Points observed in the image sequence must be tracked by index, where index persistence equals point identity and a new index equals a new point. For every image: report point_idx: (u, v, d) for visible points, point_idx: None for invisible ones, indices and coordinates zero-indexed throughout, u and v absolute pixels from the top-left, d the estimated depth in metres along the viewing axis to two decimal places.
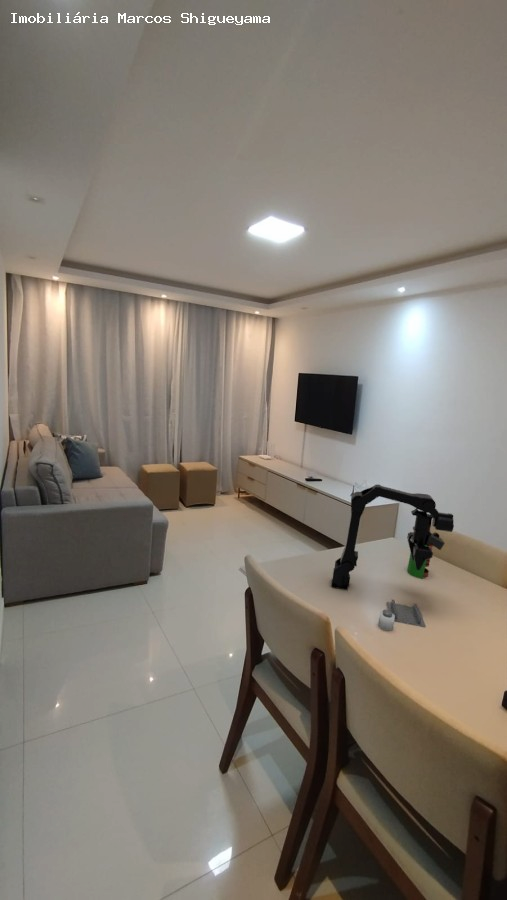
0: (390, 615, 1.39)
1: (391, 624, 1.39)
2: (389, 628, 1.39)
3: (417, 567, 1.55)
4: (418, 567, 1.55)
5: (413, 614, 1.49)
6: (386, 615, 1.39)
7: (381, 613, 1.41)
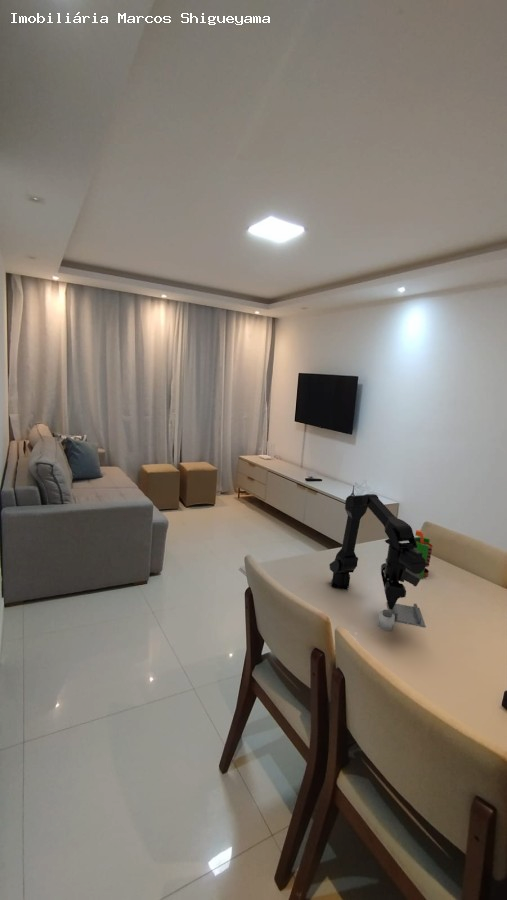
0: (390, 615, 1.39)
1: (391, 624, 1.39)
2: (389, 628, 1.39)
3: (389, 606, 1.35)
4: (391, 606, 1.35)
5: (413, 614, 1.49)
6: (386, 615, 1.39)
7: (381, 613, 1.41)
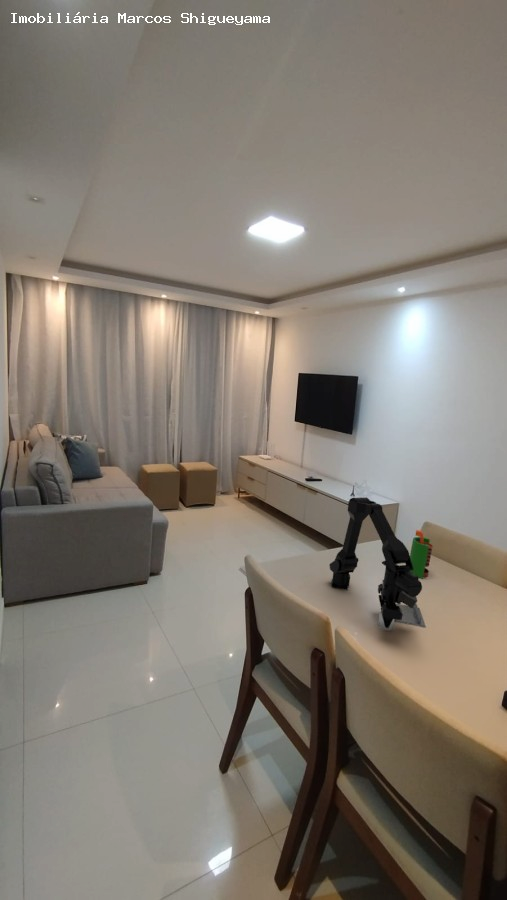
0: None
1: (391, 623, 1.39)
2: (389, 628, 1.39)
3: (385, 625, 1.38)
4: (387, 625, 1.38)
5: (413, 614, 1.49)
6: None
7: (381, 613, 1.41)
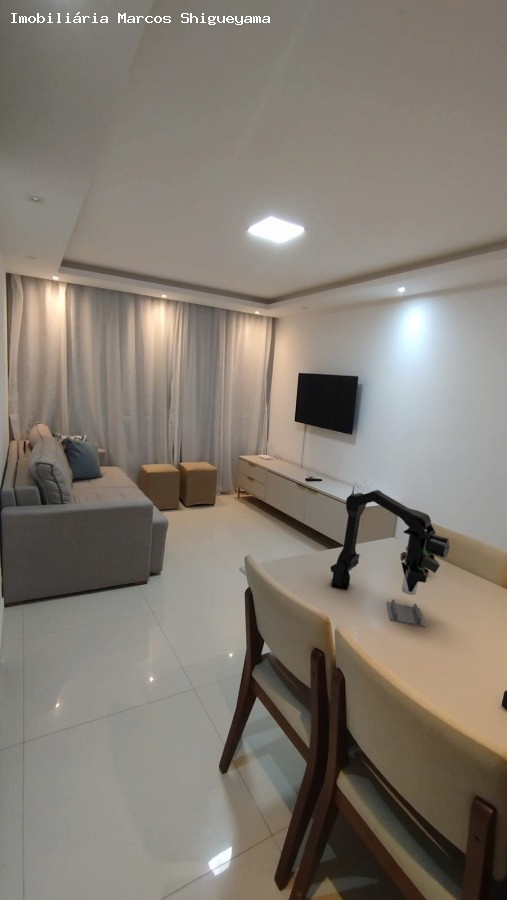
0: None
1: (415, 588, 1.46)
2: (412, 592, 1.46)
3: (409, 589, 1.45)
4: (410, 589, 1.45)
5: (413, 614, 1.49)
6: None
7: (405, 578, 1.48)
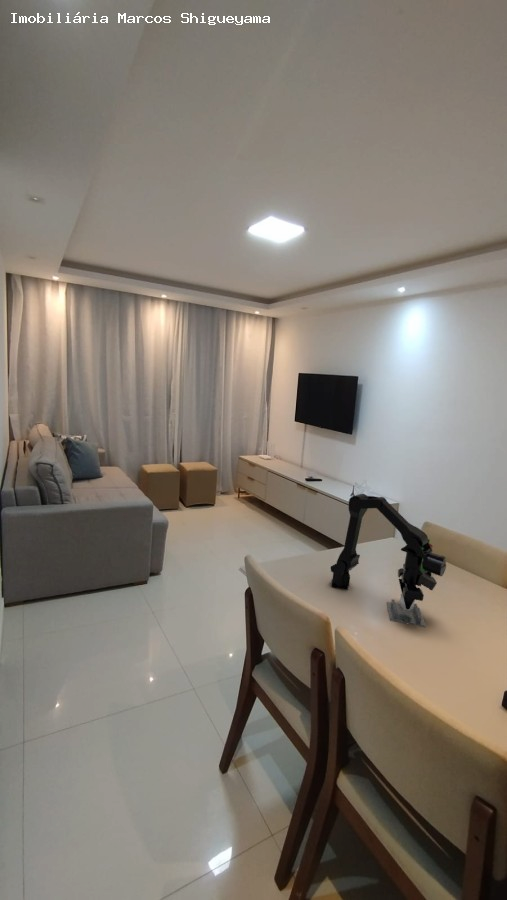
0: None
1: (412, 605, 1.47)
2: (410, 610, 1.47)
3: (406, 606, 1.46)
4: (408, 606, 1.46)
5: (413, 614, 1.49)
6: None
7: (402, 595, 1.49)
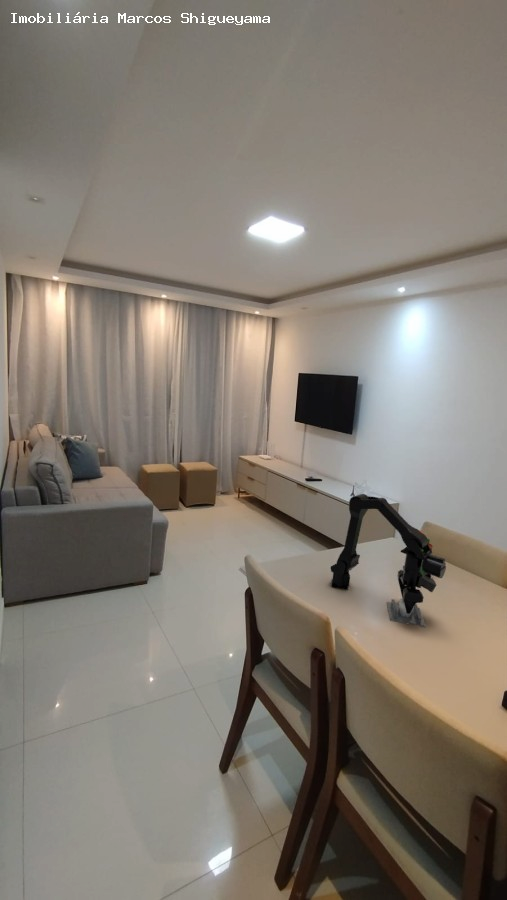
0: None
1: None
2: (409, 615, 1.47)
3: (407, 611, 1.45)
4: (408, 611, 1.45)
5: (413, 614, 1.49)
6: None
7: (401, 600, 1.50)
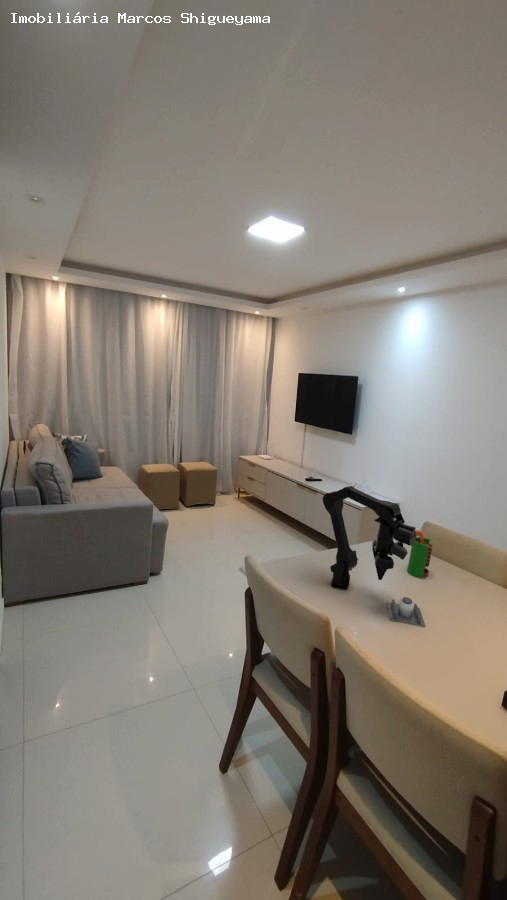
0: (410, 602, 1.48)
1: (411, 610, 1.47)
2: (409, 615, 1.47)
3: (379, 577, 1.50)
4: (380, 577, 1.50)
5: (413, 614, 1.49)
6: (406, 602, 1.48)
7: (401, 600, 1.50)
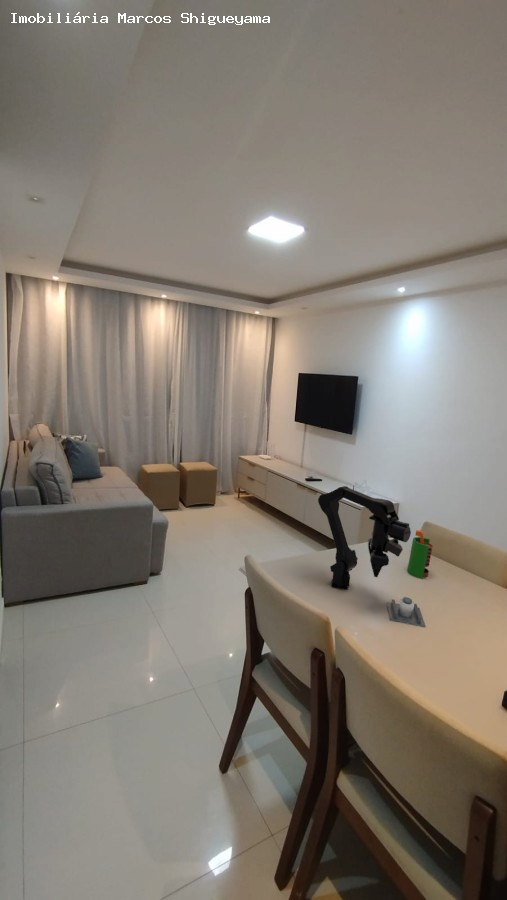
0: (410, 602, 1.48)
1: (411, 610, 1.47)
2: (409, 615, 1.47)
3: (374, 574, 1.51)
4: (376, 574, 1.51)
5: (413, 614, 1.49)
6: (406, 602, 1.48)
7: (401, 600, 1.50)
